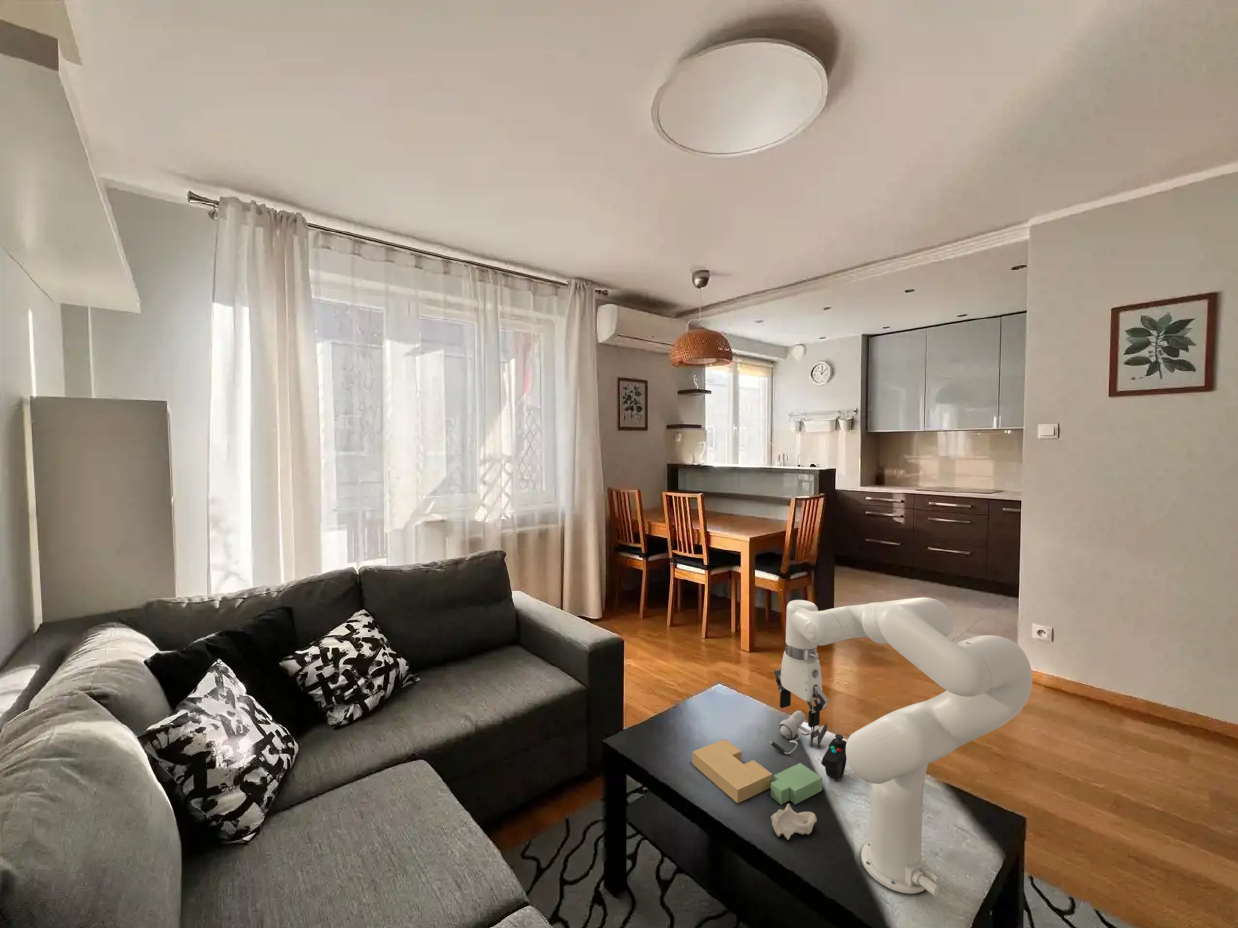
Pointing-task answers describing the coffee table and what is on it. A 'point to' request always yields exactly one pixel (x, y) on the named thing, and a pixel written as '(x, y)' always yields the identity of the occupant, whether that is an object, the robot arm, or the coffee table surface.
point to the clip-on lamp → (790, 730)
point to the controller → (835, 758)
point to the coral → (792, 822)
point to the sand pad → (731, 770)
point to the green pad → (795, 784)
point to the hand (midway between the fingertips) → (798, 715)
